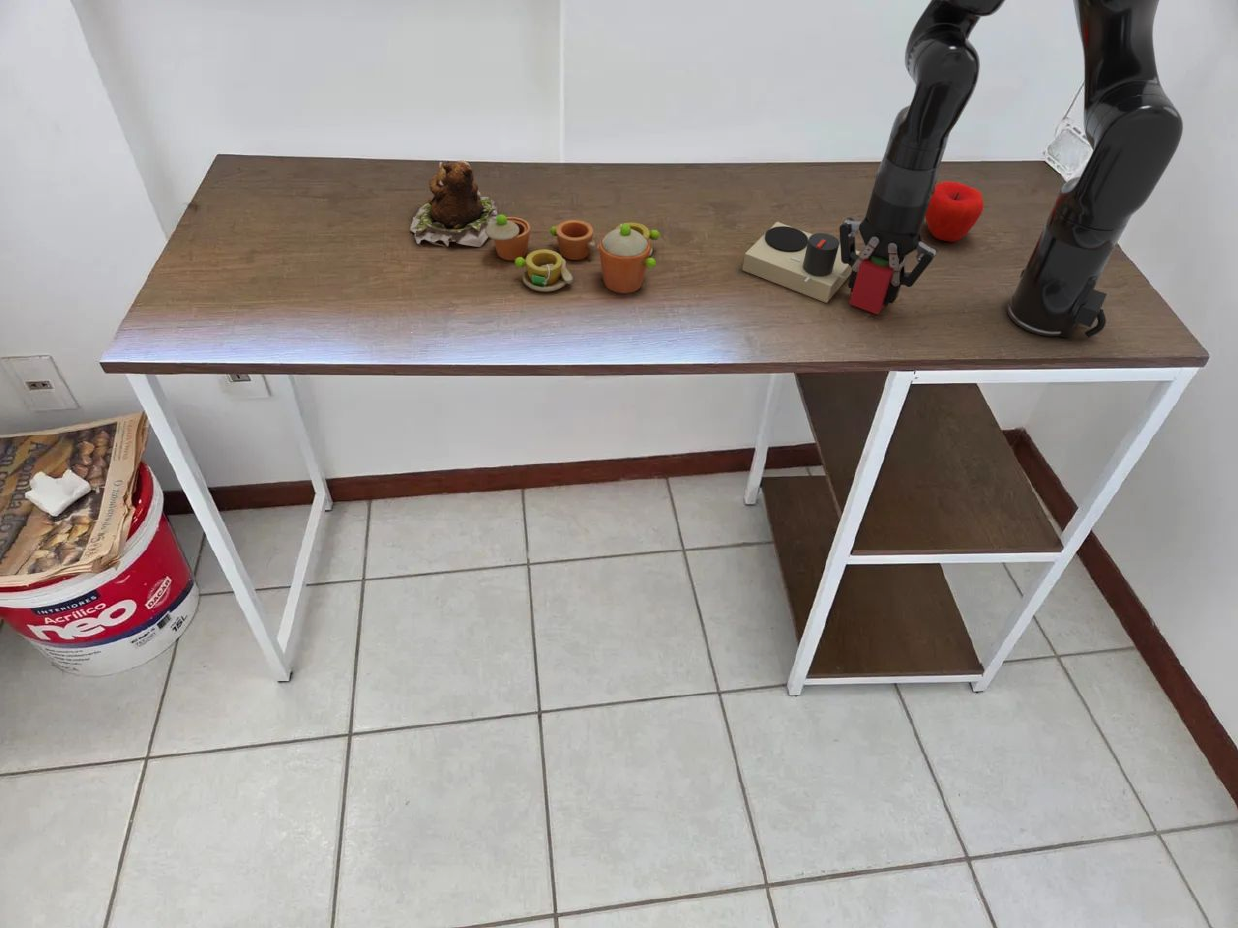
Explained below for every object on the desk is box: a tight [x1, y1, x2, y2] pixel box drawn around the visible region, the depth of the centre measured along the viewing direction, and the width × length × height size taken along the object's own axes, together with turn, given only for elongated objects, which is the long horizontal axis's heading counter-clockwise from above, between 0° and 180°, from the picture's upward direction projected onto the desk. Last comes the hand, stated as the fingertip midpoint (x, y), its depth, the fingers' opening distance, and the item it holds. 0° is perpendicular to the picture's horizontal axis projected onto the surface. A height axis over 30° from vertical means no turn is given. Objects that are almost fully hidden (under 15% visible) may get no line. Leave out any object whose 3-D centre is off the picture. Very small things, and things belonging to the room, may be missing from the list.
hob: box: [741, 221, 861, 304], centre depth 132 cm, size 15×12×3 cm
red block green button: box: [848, 256, 892, 315], centre depth 125 cm, size 4×5×8 cm
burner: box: [764, 226, 808, 252], centre depth 133 cm, size 7×7×1 cm
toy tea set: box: [485, 214, 660, 294], centre depth 128 cm, size 26×16×10 cm, turn 93°
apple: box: [925, 180, 985, 243], centre depth 139 cm, size 9×9×8 cm
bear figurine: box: [409, 159, 499, 248], centre depth 134 cm, size 14×15×12 cm
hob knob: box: [803, 232, 840, 276], centre depth 127 cm, size 4×4×5 cm
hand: (871, 296), depth 127 cm, fingers closed on red block green button, 4 cm apart
